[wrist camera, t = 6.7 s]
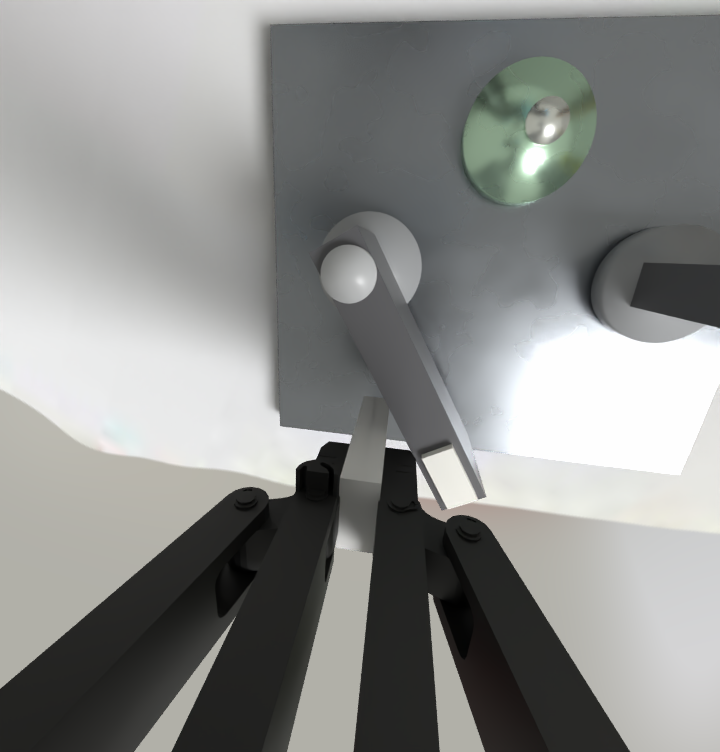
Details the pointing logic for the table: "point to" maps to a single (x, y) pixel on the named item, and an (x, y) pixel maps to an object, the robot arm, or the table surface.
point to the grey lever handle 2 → (660, 284)
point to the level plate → (501, 218)
